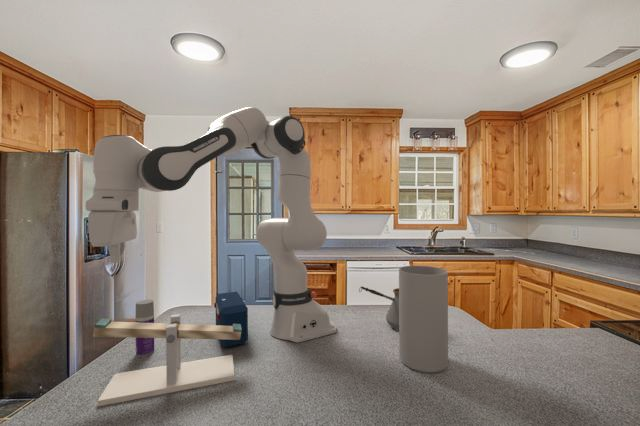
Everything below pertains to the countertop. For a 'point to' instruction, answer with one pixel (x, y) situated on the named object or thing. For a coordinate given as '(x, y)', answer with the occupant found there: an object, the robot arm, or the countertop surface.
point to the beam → (159, 330)
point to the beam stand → (168, 374)
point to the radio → (232, 315)
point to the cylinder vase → (423, 318)
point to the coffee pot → (393, 311)
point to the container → (144, 316)
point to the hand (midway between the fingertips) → (116, 261)
